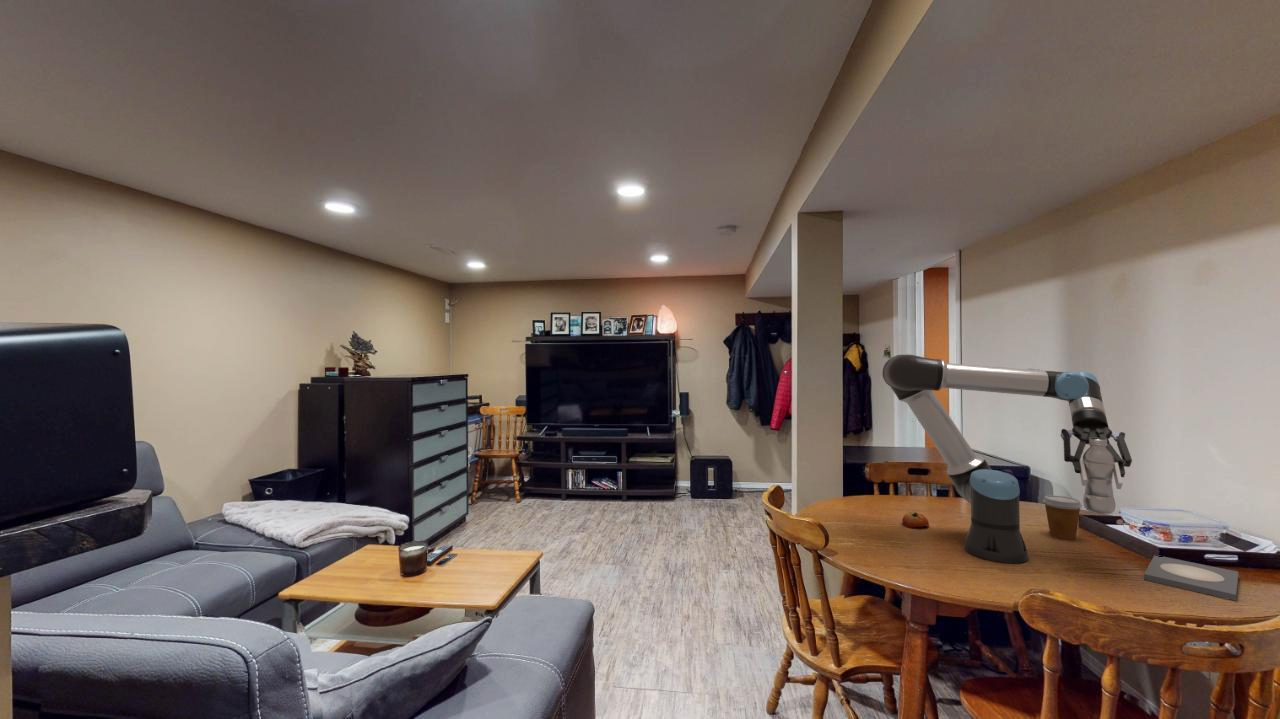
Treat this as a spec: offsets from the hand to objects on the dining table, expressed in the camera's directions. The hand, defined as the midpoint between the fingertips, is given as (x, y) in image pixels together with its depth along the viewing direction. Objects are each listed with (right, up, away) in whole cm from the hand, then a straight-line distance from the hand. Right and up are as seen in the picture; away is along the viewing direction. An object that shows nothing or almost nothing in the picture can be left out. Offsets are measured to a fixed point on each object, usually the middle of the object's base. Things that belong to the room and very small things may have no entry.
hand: (1101, 484), depth 130 cm
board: (+20, -24, -3) cm, 31 cm away
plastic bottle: (+2, -9, +3) cm, 9 cm away
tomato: (-26, -25, +41) cm, 55 cm away
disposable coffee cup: (+15, -24, +29) cm, 41 cm away
